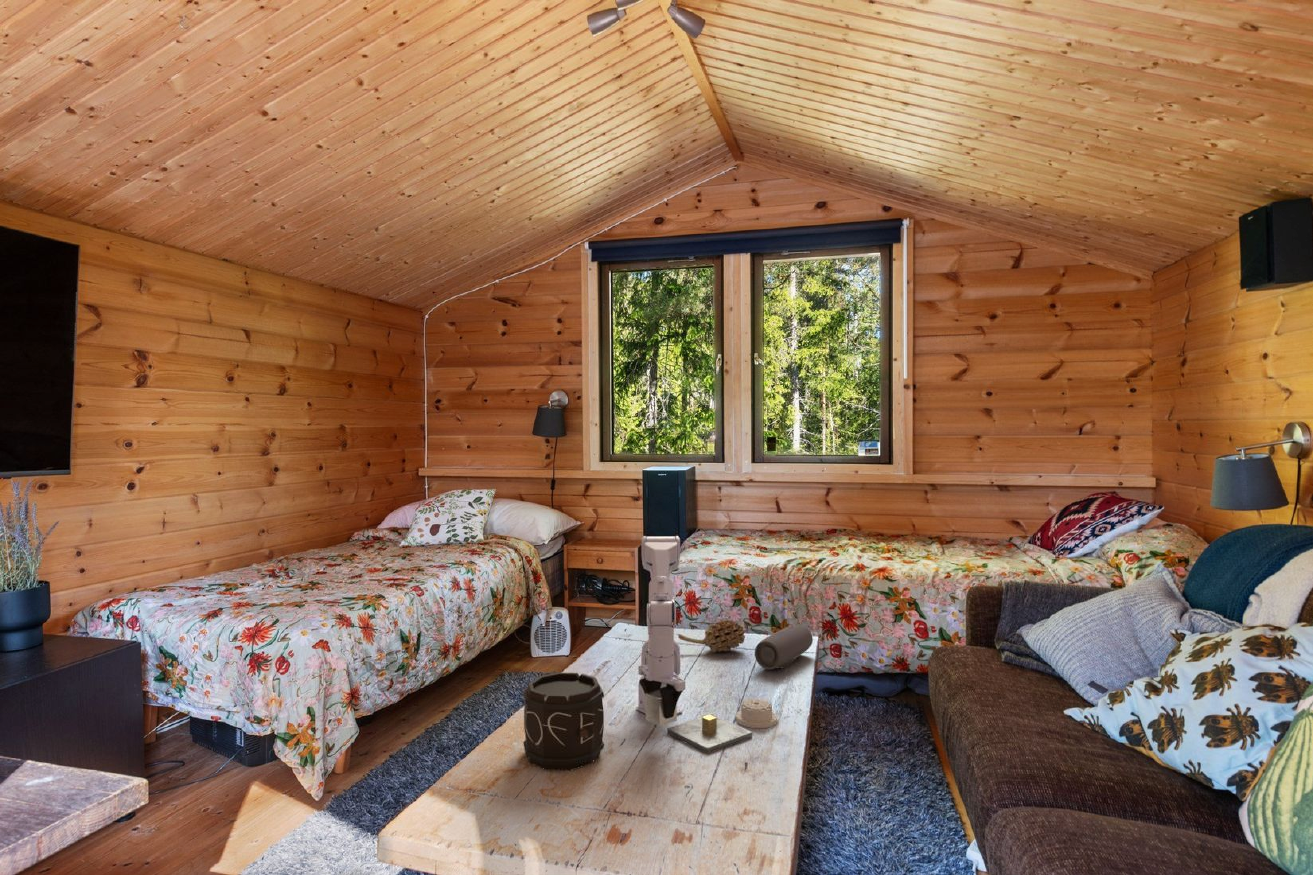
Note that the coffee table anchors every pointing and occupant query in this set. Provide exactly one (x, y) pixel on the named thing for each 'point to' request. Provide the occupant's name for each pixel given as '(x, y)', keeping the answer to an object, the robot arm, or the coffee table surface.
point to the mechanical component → (756, 714)
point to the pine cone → (720, 636)
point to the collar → (657, 709)
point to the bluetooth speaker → (783, 646)
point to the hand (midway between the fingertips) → (661, 713)
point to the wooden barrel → (563, 721)
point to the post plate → (709, 733)
